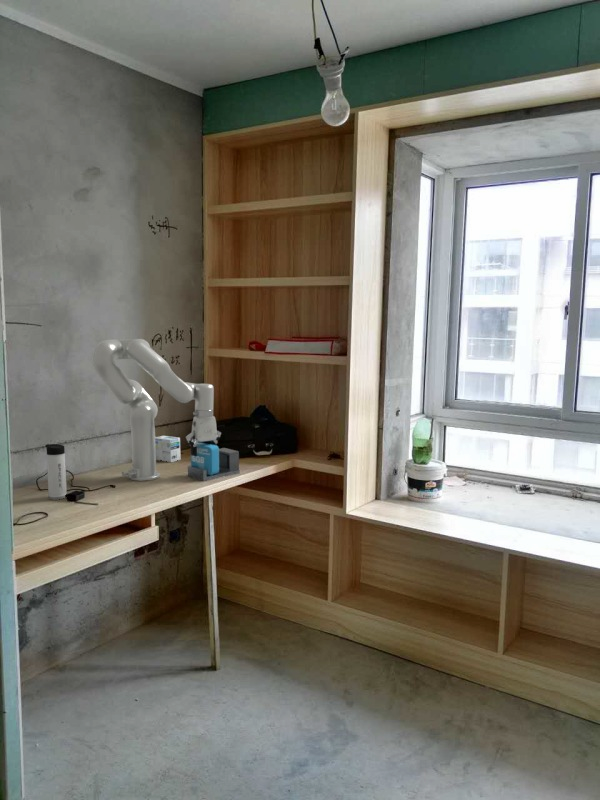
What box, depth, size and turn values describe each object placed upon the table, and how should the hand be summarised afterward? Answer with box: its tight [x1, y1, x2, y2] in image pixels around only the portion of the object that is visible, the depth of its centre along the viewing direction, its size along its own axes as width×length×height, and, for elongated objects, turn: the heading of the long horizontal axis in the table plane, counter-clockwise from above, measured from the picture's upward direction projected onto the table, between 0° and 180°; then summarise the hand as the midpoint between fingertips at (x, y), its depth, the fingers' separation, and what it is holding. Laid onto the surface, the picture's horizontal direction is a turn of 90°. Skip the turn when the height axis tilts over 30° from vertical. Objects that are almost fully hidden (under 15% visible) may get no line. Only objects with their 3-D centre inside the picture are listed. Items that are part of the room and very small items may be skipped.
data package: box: [190, 442, 220, 475], centre depth 264 cm, size 12×4×12 cm, turn 55°
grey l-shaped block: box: [187, 447, 241, 482], centre depth 268 cm, size 19×11×10 cm, turn 135°
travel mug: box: [44, 443, 68, 501], centre depth 232 cm, size 6×7×20 cm
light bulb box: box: [155, 435, 182, 463], centre depth 295 cm, size 11×7×11 cm, turn 58°
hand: (203, 454), depth 264 cm, fingers open, 9 cm apart
